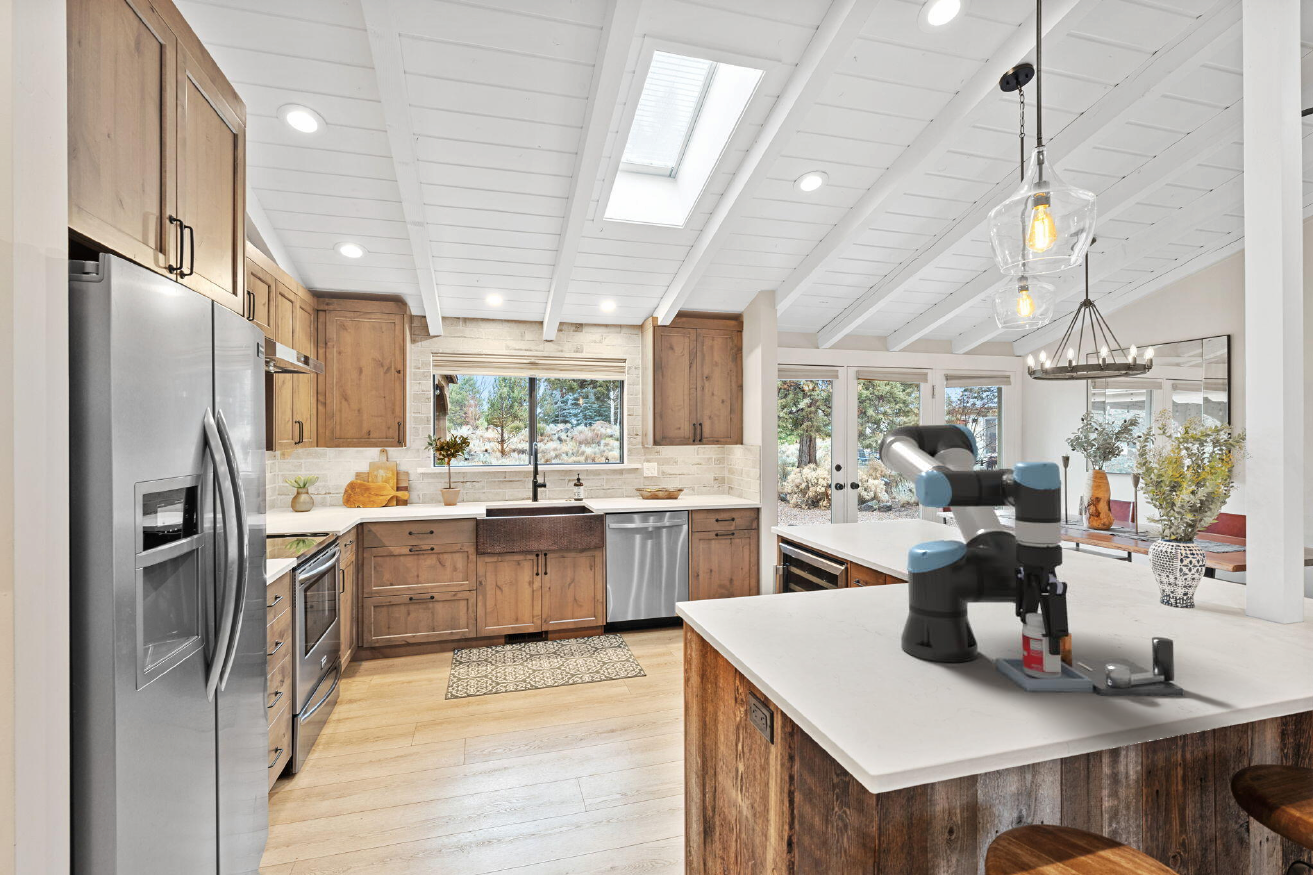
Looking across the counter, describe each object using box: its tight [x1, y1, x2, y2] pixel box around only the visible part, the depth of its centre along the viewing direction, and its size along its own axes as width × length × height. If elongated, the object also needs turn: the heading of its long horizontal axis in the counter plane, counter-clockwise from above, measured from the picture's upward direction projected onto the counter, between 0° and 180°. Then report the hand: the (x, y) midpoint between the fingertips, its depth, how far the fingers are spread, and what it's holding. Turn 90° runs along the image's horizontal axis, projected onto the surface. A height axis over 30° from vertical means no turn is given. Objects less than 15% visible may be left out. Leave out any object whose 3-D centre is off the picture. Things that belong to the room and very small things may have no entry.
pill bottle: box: [1021, 612, 1061, 679], centre depth 118 cm, size 6×6×11 cm
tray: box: [995, 657, 1094, 693], centre depth 118 cm, size 12×12×2 cm
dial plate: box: [1060, 632, 1184, 697], centre depth 117 cm, size 14×14×7 cm
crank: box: [1106, 636, 1175, 688], centre depth 112 cm, size 13×4×7 cm, turn 102°
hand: (1041, 663), depth 118 cm, fingers closed on pill bottle, 6 cm apart
